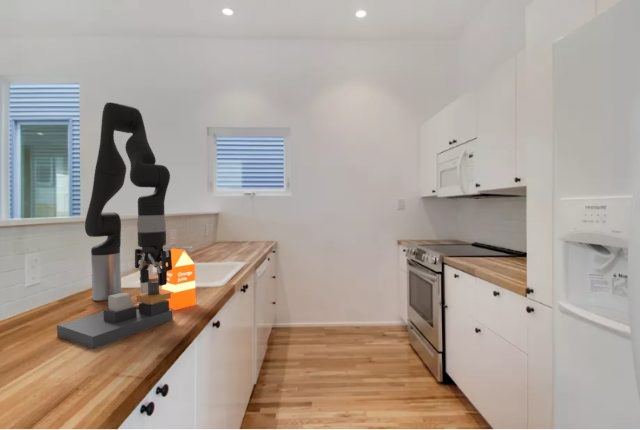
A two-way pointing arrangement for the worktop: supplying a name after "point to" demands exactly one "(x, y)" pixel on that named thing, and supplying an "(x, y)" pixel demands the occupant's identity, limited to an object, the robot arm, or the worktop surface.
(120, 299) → the breaker plain
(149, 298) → the cap
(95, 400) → the worktop surface
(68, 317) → the worktop surface
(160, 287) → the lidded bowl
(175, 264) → the orange juice
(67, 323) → the breaker panel
